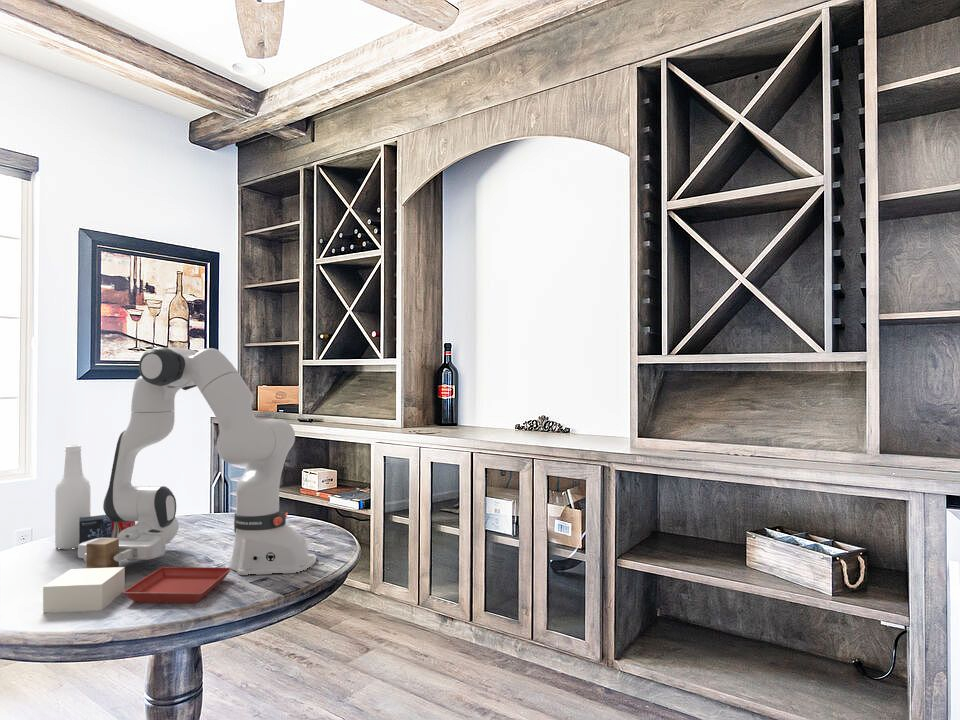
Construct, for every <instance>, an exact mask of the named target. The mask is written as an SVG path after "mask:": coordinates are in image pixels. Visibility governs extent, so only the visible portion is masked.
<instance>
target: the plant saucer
mask: <svg viewBox="0 0 960 720" xmlns="http://www.w3.org/2000/svg"><path fill="white" fill-rule="evenodd" d="M231 570H232V569H231V568H230V567H208V566H207V567H205V566H204V567H200V566H199V567H197V566H195V567H193V566H189V567H187V566H186V567H185V566H182V567H181V566H180V567H179V566H175V567H174V566H162V567H159V568H158V569H156V570H154V571H153V572H151V573H150V574H149V575H146V576H145V577H143V578H142V579H141V580H139V581H138V582H135V584H132V585H131V586H130V587H129V588H127V589H125V591H124V592H123V593H122V594H124V595H125V597H127V598H129V599H130V600H131V601H133V603H159V604H160V603H167V604H168V603H171V604H172V603H180V604H181V603H183V604H185V603H187V604H189V603H193V604H194V603H198V602H199V600H200V601H201V600H202V599H204V598H205V596H207V595H208V594H209V593H210V592H211V591H213V590H214V589H215V588H216V587H217V586H219V585H220V584H221V583H222V582H223V581H224V580H225V579H226V577H227V576H228V575H229V573H230V571H231ZM221 581H222V582H221ZM220 582H221V583H220ZM219 583H220V584H219ZM213 588H214V589H213ZM206 594H207V595H206Z"/></svg>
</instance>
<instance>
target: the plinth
mask: <svg viewBox="0 0 960 720" xmlns="http://www.w3.org/2000/svg"><path fill="white" fill-rule="evenodd" d="M125 568H126V567H125V566H119V567H112V568H87V567H86V568H70V569H69V570H67V571H65V572H64V573H62V574H61V575H59V576H58V577H56V578H54V579H53V580H52V581H50V582H48V583H47V584H45V585H44V586H43V587H42V597H43V598H42V601H43V602H42V613H43V612H54V613H67V612H68V613H69V612H71V613H72V612H74V613H75V612H90V611H92V612H93V611H103V610H104V609H105V608H106V607H107V606H108V605H110V604H111V603H112V602H113V601H115V600H116V599H117V598H118V597H119V596H121V594H124V593H123V592H124V591H125V590H126V589H125V587H126V585H125V584H126V581H125V579H126V575H125V573H126V572H125V570H126V569H125Z"/></svg>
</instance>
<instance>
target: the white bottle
mask: <svg viewBox="0 0 960 720" xmlns="http://www.w3.org/2000/svg"><path fill="white" fill-rule="evenodd" d="M81 452H82V445H81V444H70V445H66V446H65V459H64V467H63V468H64V469H63V470H64V471H63V475H62V478H61V479H59V481H58V483H57V484H56V485H55V486H56V487H55V494H54V495H55V497H54V498H55V505H54V507H55V510H54V512H55V513H54V514H55V517H54V518H55V520H54V521H55V522H54V524H55V525H54V526H55V528H54V529H55V533H54V534H55V540H54V541H55V542H54V543H55V547H56V549H57V548H60V549H72V548H78V545H79V518H80V517H90V516H91V484H90V481H89V480H88V478H87V477H86V476H84V472H83V464H82V453H81ZM72 550H73V549H72Z"/></svg>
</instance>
